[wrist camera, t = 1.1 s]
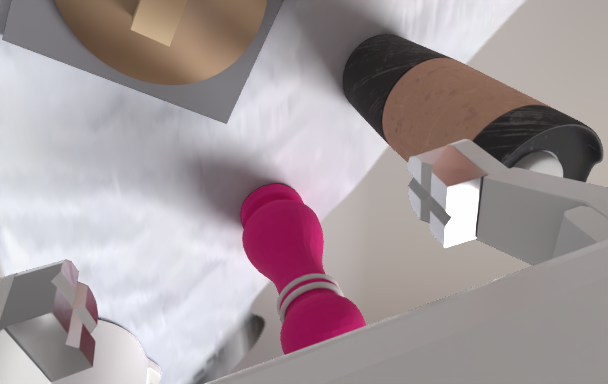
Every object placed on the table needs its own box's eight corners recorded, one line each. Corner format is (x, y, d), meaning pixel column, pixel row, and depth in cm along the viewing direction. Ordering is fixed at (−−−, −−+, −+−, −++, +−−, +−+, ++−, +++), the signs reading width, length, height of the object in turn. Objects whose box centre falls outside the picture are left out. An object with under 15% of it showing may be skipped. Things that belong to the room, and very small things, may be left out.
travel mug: (322, 77, 38) (453, 201, 22) (388, 10, 36) (581, 88, 20) (371, 131, 42) (512, 267, 26) (433, 72, 41) (621, 178, 25)
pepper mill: (219, 207, 42) (266, 396, 25) (283, 164, 41) (371, 327, 25) (261, 251, 46) (323, 437, 30) (318, 213, 45) (414, 379, 29)
